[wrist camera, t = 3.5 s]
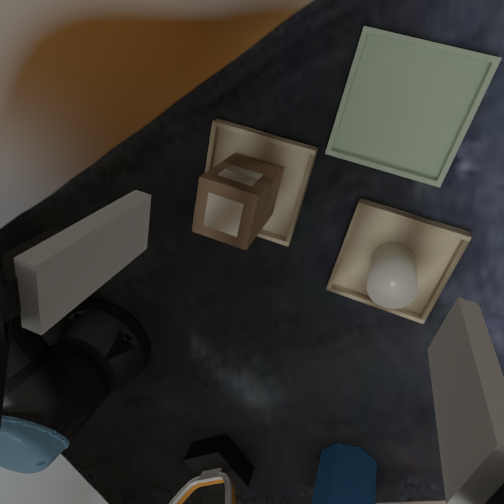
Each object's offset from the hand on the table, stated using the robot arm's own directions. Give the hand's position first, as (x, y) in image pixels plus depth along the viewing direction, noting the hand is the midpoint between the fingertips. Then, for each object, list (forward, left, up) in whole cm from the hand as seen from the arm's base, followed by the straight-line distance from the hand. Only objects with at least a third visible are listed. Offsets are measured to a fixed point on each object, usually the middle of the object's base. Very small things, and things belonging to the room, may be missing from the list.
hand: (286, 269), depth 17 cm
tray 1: (-9, -8, -30) cm, 32 cm away
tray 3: (+9, -12, -30) cm, 34 cm away
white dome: (+9, -12, -29) cm, 33 cm away
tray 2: (+4, +4, -30) cm, 30 cm away
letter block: (-9, -8, -29) cm, 32 cm away
